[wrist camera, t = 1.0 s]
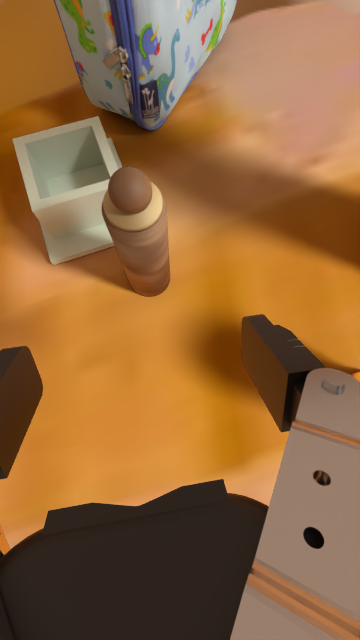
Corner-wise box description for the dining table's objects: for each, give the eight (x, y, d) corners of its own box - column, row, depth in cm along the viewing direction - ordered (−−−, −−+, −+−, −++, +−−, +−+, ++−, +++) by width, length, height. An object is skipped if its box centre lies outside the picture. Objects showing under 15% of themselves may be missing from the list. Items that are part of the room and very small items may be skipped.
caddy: (112, 142, 36) (100, 96, 31) (147, 235, 33) (142, 201, 27) (26, 167, 35) (-3, 123, 29) (53, 265, 32) (27, 236, 26)
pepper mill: (162, 253, 32) (150, 136, 18) (175, 288, 31) (175, 194, 17) (123, 266, 32) (79, 156, 17) (136, 302, 31) (100, 217, 16)
